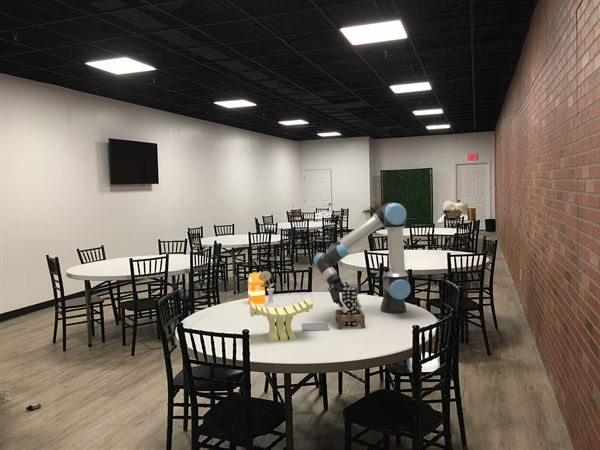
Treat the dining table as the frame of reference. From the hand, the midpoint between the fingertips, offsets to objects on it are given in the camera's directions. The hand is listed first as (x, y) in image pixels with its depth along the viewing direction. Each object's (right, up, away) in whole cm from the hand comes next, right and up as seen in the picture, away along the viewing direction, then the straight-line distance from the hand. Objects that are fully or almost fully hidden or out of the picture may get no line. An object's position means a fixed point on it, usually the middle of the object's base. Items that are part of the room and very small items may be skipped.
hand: (353, 309), depth 275 cm
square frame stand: (-2, -9, +3) cm, 10 cm away
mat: (-21, -10, +1) cm, 23 cm away
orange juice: (-57, -6, +63) cm, 85 cm away
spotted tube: (-2, -9, +3) cm, 10 cm away
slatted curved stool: (-38, -12, -13) cm, 42 cm away
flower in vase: (-47, -8, +39) cm, 62 cm away
